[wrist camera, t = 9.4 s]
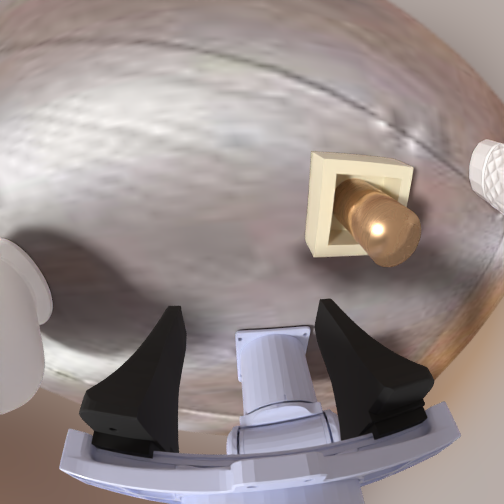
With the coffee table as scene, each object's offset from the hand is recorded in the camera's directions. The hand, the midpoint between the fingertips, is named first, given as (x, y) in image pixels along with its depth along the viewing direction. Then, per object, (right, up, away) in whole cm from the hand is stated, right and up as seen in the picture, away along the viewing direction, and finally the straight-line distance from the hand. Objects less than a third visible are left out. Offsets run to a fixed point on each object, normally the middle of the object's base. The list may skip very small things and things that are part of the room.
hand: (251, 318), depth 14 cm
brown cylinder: (+8, +8, +7) cm, 13 cm away
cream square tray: (+8, +8, +8) cm, 14 cm away
